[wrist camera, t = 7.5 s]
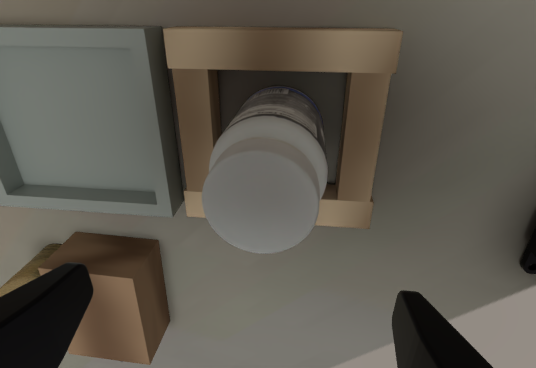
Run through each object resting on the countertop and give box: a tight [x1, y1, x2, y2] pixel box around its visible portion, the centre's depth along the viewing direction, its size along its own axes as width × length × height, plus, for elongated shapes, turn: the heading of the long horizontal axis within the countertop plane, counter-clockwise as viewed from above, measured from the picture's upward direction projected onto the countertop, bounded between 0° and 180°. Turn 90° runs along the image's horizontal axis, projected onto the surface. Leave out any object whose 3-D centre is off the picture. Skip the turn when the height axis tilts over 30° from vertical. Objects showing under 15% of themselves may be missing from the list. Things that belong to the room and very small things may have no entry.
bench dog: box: [0, 244, 61, 297], centre depth 23 cm, size 3×3×5 cm
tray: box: [0, 25, 184, 217], centre depth 19 cm, size 11×10×2 cm
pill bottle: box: [202, 86, 328, 254], centre depth 15 cm, size 5×5×8 cm
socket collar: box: [163, 26, 403, 229], centre depth 18 cm, size 10×10×2 cm
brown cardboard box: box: [38, 232, 170, 365], centre depth 24 cm, size 6×8×4 cm
